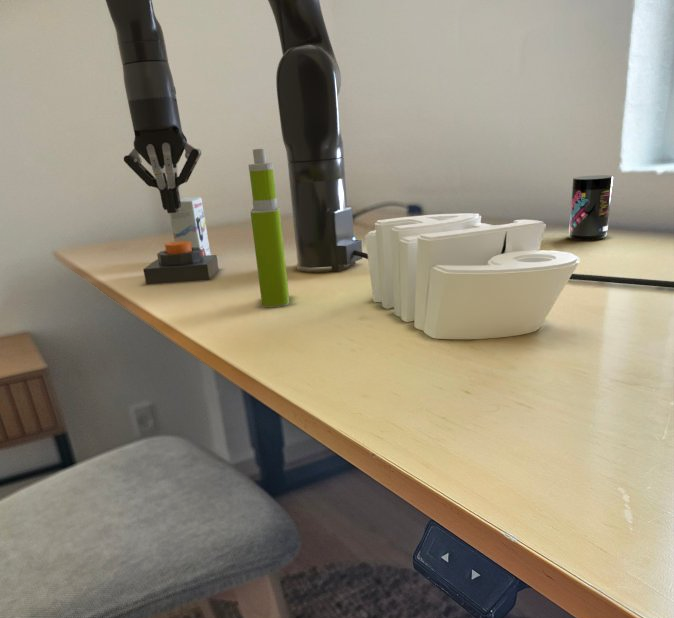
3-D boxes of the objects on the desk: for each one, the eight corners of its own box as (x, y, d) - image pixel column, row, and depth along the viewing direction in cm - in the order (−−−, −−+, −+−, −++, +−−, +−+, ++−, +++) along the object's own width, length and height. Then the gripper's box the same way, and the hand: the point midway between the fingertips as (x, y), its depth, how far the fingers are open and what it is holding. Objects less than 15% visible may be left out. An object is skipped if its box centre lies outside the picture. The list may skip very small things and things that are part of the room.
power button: (194, 250, 116) (192, 240, 115) (189, 254, 112) (187, 244, 111) (170, 252, 116) (168, 241, 115) (163, 256, 112) (161, 246, 112)
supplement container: (573, 234, 125) (578, 175, 121) (611, 235, 122) (617, 174, 117) (563, 240, 120) (568, 179, 116) (601, 241, 117) (608, 178, 112)
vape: (289, 296, 97) (273, 147, 88) (288, 305, 91) (271, 148, 83) (264, 298, 97) (246, 149, 88) (261, 308, 91) (241, 151, 83)
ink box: (203, 265, 125) (192, 200, 120) (178, 267, 125) (166, 202, 120) (211, 257, 132) (202, 195, 127) (188, 259, 133) (177, 197, 127)
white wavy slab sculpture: (356, 288, 98) (352, 214, 93) (460, 275, 101) (461, 202, 96) (445, 357, 67) (445, 251, 62) (591, 335, 70) (601, 232, 65)
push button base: (218, 269, 120) (215, 244, 118) (209, 280, 112) (205, 253, 110) (159, 274, 120) (154, 249, 118) (146, 284, 112) (140, 258, 110)
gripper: (102, 100, 100) (128, 218, 108) (187, 91, 100) (207, 211, 107) (118, 101, 107) (141, 213, 115) (197, 93, 107) (215, 206, 114)
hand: (173, 212), depth 111 cm, fingers closed
